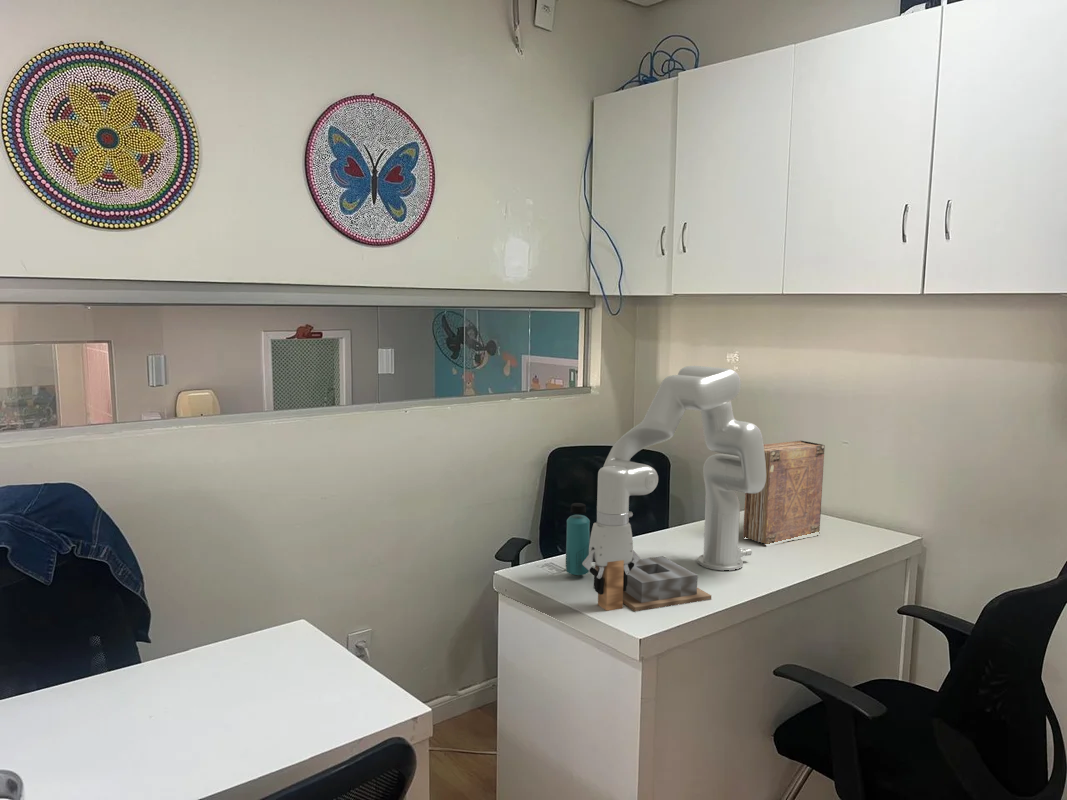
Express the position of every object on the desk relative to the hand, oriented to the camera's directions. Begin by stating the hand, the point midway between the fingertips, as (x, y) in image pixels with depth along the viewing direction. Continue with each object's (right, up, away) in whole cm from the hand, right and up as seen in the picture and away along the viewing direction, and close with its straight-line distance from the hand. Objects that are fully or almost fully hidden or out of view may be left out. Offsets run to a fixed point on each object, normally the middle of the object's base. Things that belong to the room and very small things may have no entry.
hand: (610, 590), depth 188 cm
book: (+61, +2, +61) cm, 86 cm away
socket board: (+12, -3, +11) cm, 16 cm away
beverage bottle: (-7, -2, +21) cm, 22 cm away
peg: (0, -4, 0) cm, 4 cm away
